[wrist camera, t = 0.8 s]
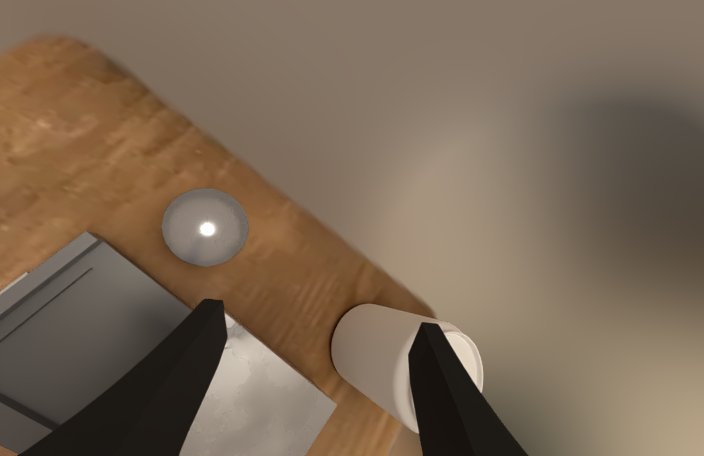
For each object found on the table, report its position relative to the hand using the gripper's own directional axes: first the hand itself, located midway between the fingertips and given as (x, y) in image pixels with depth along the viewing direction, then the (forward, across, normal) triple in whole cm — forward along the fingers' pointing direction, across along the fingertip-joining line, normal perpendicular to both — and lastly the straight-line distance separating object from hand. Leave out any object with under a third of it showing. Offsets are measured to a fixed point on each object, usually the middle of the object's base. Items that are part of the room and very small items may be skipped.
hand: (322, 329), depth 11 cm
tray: (+5, +15, +11) cm, 20 cm away
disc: (+11, +9, +4) cm, 15 cm away
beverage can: (+13, -5, +18) cm, 23 cm away
